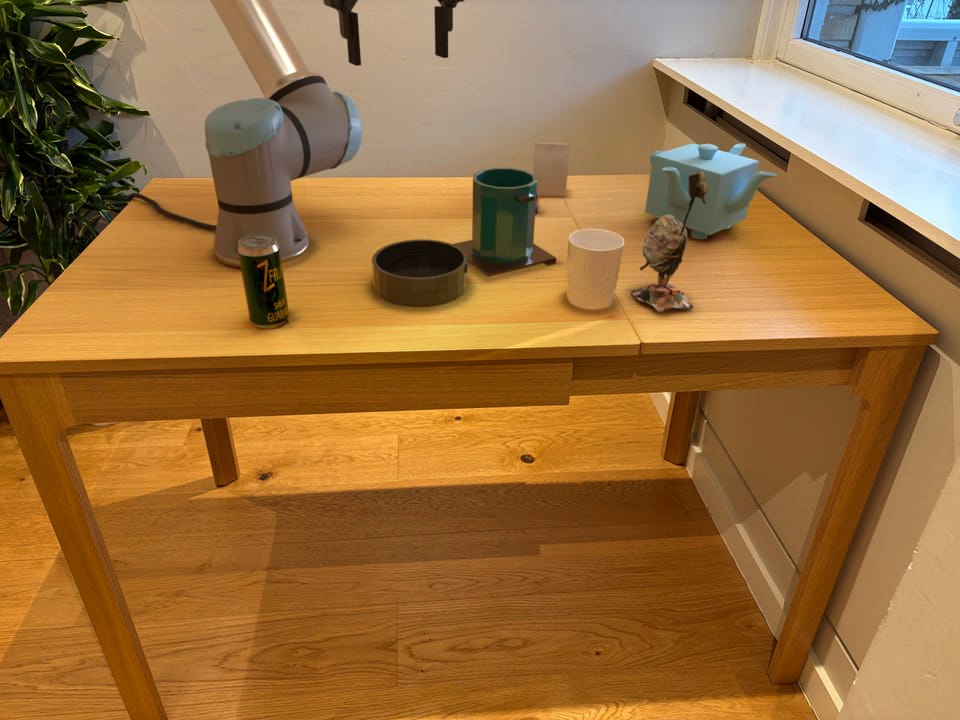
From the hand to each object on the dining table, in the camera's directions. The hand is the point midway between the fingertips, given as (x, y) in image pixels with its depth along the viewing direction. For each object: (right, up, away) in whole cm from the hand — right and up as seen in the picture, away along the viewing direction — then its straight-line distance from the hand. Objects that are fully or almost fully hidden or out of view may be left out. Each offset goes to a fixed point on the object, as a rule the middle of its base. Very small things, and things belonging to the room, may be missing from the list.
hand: (399, 60), depth 103 cm
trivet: (+15, -26, +18) cm, 34 cm away
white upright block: (+26, -9, +44) cm, 52 cm away
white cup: (+28, -34, +4) cm, 44 cm away
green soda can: (-18, -38, -2) cm, 42 cm away
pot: (+15, -25, +17) cm, 34 cm away
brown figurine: (+38, -34, +6) cm, 51 cm away
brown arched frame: (+18, -14, +37) cm, 43 cm away
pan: (+2, -32, +7) cm, 33 cm away
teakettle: (+52, -18, +30) cm, 63 cm away
